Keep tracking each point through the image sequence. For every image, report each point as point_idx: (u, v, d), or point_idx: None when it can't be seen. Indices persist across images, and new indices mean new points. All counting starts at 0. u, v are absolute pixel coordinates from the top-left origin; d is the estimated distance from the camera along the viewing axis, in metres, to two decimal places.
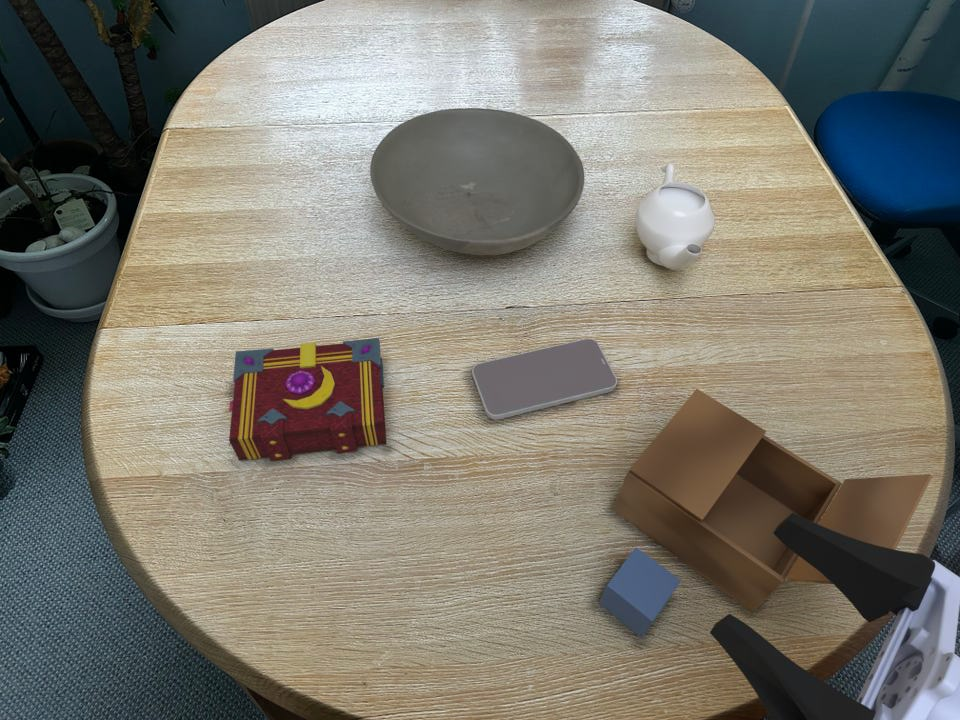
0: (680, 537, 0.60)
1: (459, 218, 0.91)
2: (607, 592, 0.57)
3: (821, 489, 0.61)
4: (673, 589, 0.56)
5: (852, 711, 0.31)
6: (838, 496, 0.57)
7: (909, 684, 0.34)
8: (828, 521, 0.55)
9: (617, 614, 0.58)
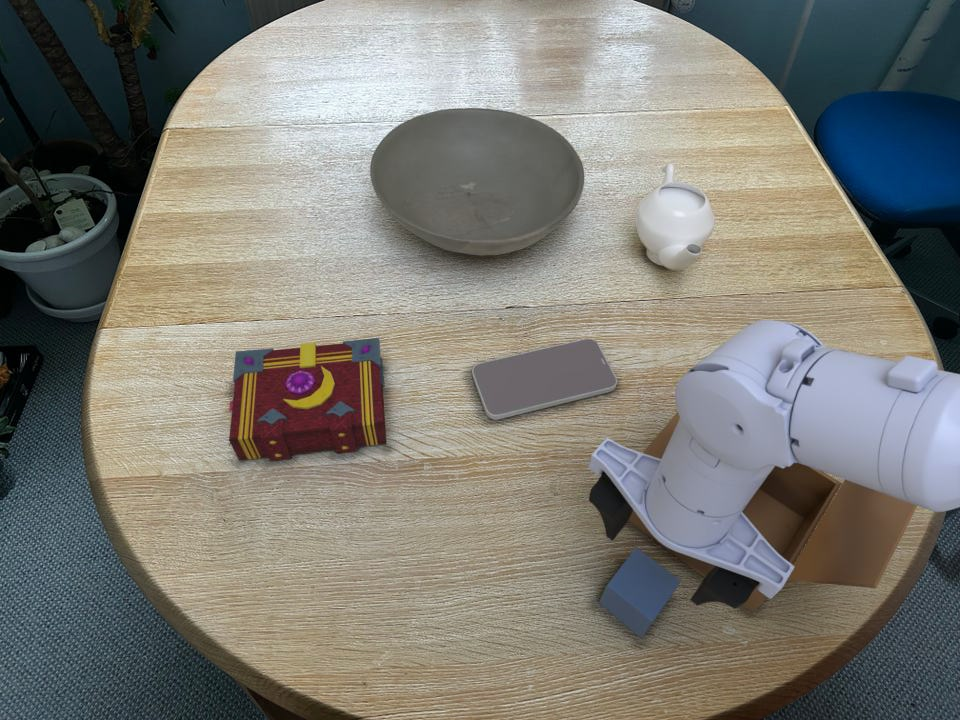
0: None
1: (459, 218, 0.91)
2: (607, 592, 0.57)
3: (821, 489, 0.61)
4: (673, 589, 0.56)
5: None
6: (838, 496, 0.57)
7: None
8: (828, 521, 0.55)
9: (617, 614, 0.58)
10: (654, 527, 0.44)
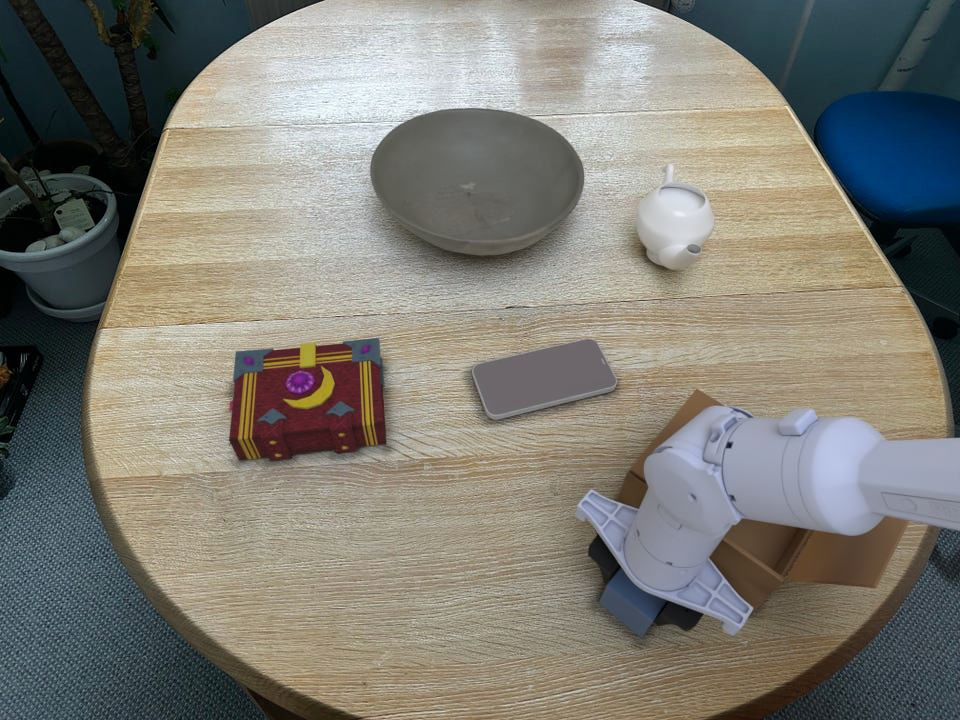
0: None
1: (459, 218, 0.91)
2: (607, 591, 0.57)
3: None
4: None
5: None
6: None
7: None
8: None
9: (617, 614, 0.58)
10: (631, 572, 0.50)
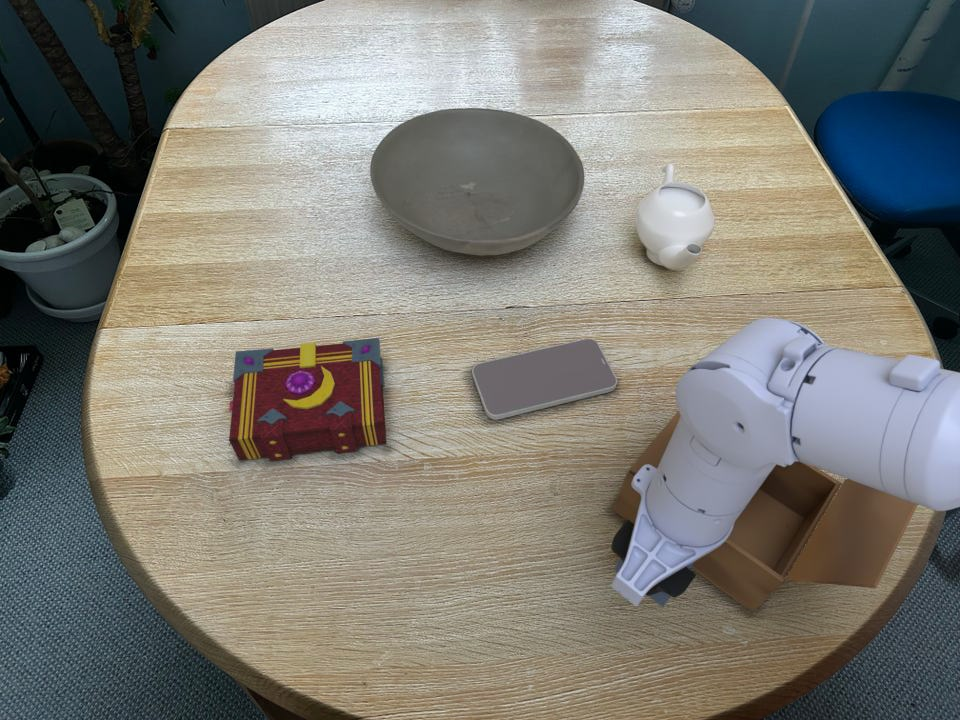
0: None
1: (459, 218, 0.91)
2: None
3: (821, 489, 0.61)
4: None
5: None
6: (838, 496, 0.57)
7: None
8: (828, 521, 0.55)
9: None
10: (719, 541, 0.44)
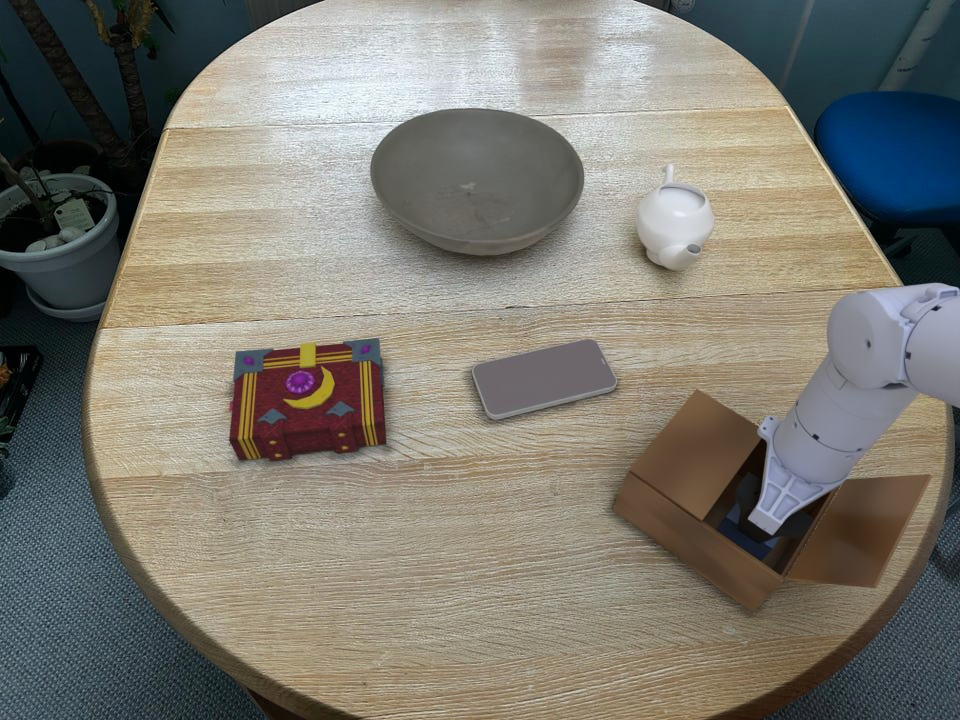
0: (680, 537, 0.60)
1: (459, 218, 0.91)
2: (770, 550, 0.59)
3: None
4: None
5: None
6: (838, 496, 0.57)
7: None
8: (828, 521, 0.55)
9: None
10: (842, 479, 0.50)
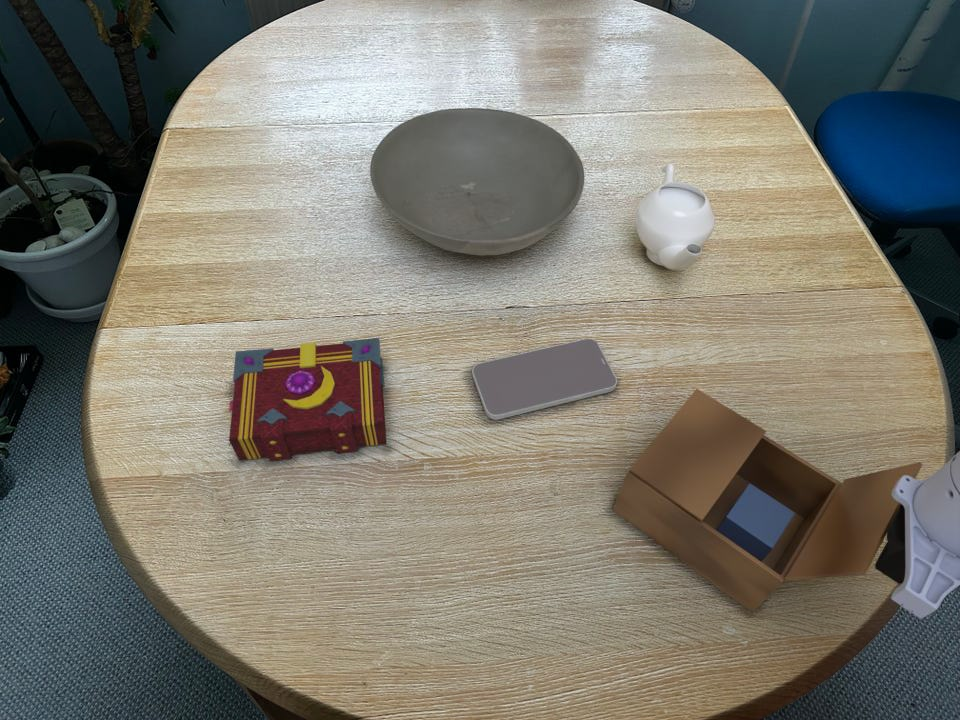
0: (680, 537, 0.60)
1: (459, 218, 0.91)
2: (770, 550, 0.59)
3: (821, 489, 0.61)
4: (760, 490, 0.61)
5: None
6: (837, 495, 0.57)
7: None
8: (827, 520, 0.55)
9: None
10: None
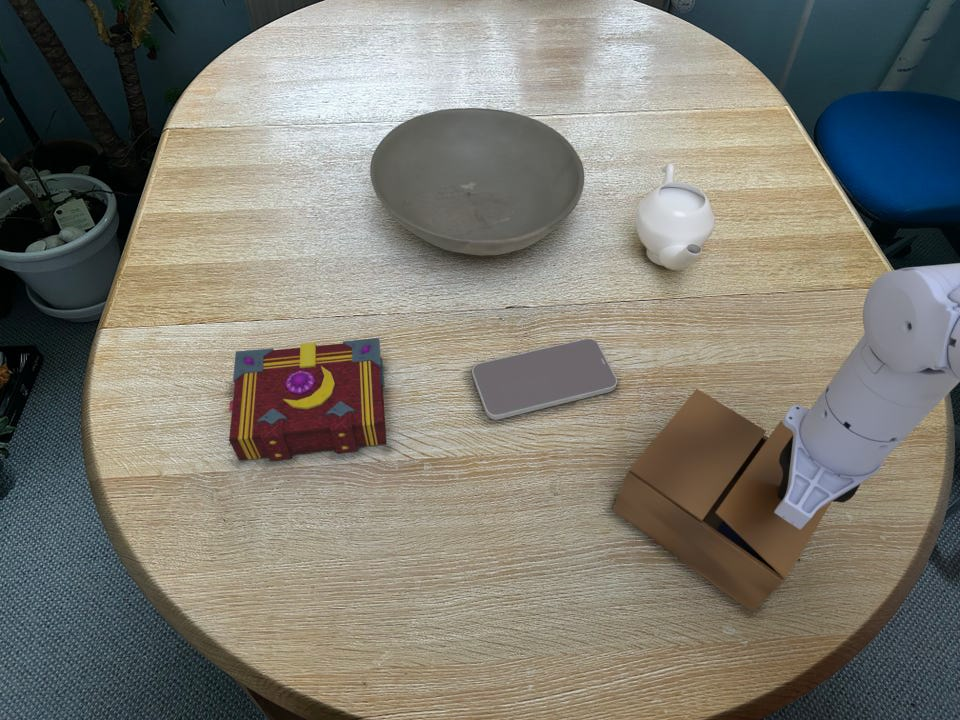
0: (680, 537, 0.60)
1: (459, 218, 0.91)
2: None
3: None
4: None
5: None
6: None
7: None
8: None
9: None
10: (873, 471, 0.47)
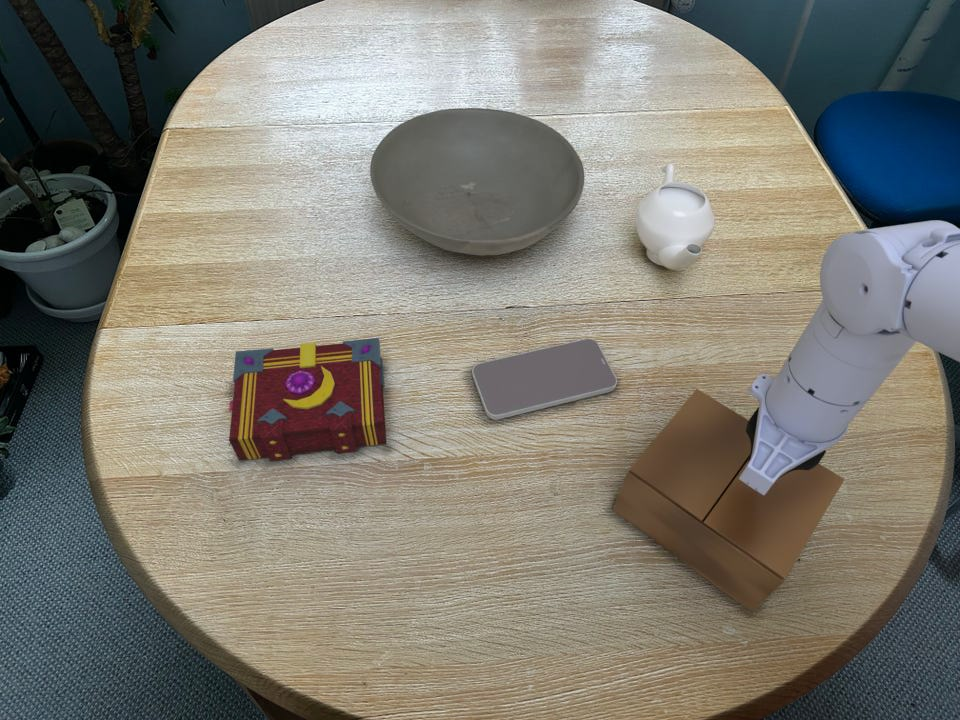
0: (680, 537, 0.60)
1: (459, 218, 0.91)
2: None
3: None
4: None
5: None
6: None
7: None
8: None
9: None
10: (837, 438, 0.48)
